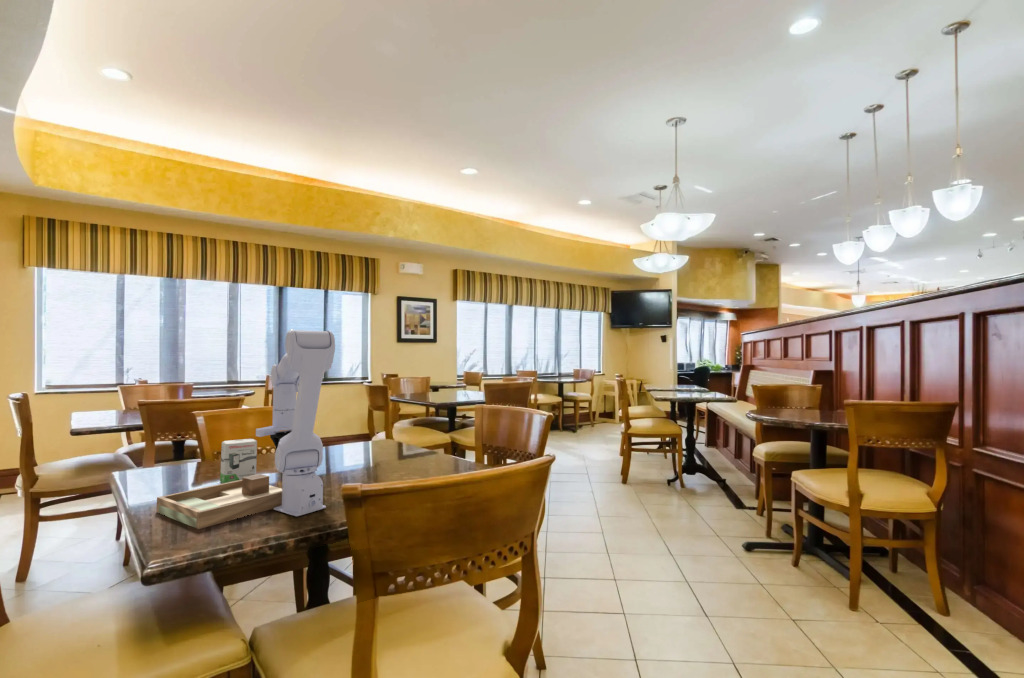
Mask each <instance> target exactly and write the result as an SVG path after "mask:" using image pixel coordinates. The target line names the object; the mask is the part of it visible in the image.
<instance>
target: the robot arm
mask: <svg viewBox="0 0 1024 678" xmlns="http://www.w3.org/2000/svg"><path fill="white" fill-rule="evenodd" d="M284 341H285V342H284V348H285V354H284V355H283V356H282V358H281V359H280V361H279V363H278V364H272V367H271V370H270V381H271V382H270V383H271V386H272V387H273V388H272V389H273V392H272V395H273V396H272V425H269V426H264V427H260V428H258V427H257V428H255V437H259V438H262V437H266V436H269V437H270V439H271V441H272V442H273V445H274V446H275V452H274V453H275V454H274V465H275V468H276V471H277V472H278V473H281V474H282V478H281V483H282V484H281V488H282V505H281V506H278V507H274V509H273V510H274V511H278V512H281V513H285V514H287V515H290V516H294V517H300V516H303V515H307V514H310V513H313V512H316V511H321V510H323V509H326V507H327V506H326V505H325V504H324V482H323V479H322V478H321V477H320V476H319V475H317V474H316V472H318V468H321V467H320V466H321V465H322V463H323V459H324V456H323V451H324V449H323V448H324V444H323V441H322V439H321V437H320V436H319V435H318V434H316V433H315V432H314V429H315V423H316V422H315V421H316V418H317V412H318V406H319V399H320V394H321V390H322V384H323V379H324V375H325V373H326V372H328V371H329V370H331V369H332V365H333V362H334V357H335V351H336V338H335V335H334V334H333V332H332V331H331V330H326V331H325V330H302V329H301V330H297V329H292V328H291V329H290V330H288V331H287V332H286V335H285V340H284Z"/></svg>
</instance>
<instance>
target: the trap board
mask: <svg viewBox="0 0 1024 678" xmlns="http://www.w3.org/2000/svg"><path fill="white" fill-rule="evenodd" d="M281 505H282V487H277V486H273V485H270V484H269V492H267V493H263V494H259V495H255V496H249V495H246V494H242V480H237V481H233V482H228V483H220V484H214V485H209V486H204V487H201V488H195V489H194V488H193V489H191V490H186V491H181V492H176V493H172V494H166V495H163V496H157V497H156V513H157V514H159V513H160V515H162V516H164V515H165V517H167V518H169V519H172V520H175V521H177V522H179V523H181V524H185V525H186V526H190V527H192V528H194V529H197V530H200V529H204V528H208V527H212V526H216V525H218V524H222V523H226V521H227V522H229V521H233V520H237V518H238V519H241V518H245V517H248V516H247V515H249V516H251V514H252V515H255V513H256V514H259V513H263V512H267V511H270V510H274V507H278V506H281ZM244 516H245V517H244Z"/></svg>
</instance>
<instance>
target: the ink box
mask: <svg viewBox="0 0 1024 678" xmlns="http://www.w3.org/2000/svg"><path fill="white" fill-rule="evenodd" d="M257 448H258V440H256V439H254V438H243V439H233V440H232V439H230V440H224V441H222V442H221V451H220V452H221V454H220V471H219V472H220V473H219V475H220V476H219V482H220V483H221V482H222V483H221V484H223V483H228V482H233V481H237V480H242V477H247V476H252V475H257V458H258V457H257V456H258V452H257V451H258V449H257Z"/></svg>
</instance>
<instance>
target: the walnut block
mask: <svg viewBox="0 0 1024 678" xmlns="http://www.w3.org/2000/svg"><path fill="white" fill-rule="evenodd" d="M269 485H270V476H269V475H265V474H261V473H258V474H257V473H256V475H252V476H247V477H242V494H246V495H249V496H255V495H259V494H263V493H267V492H269Z"/></svg>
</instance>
